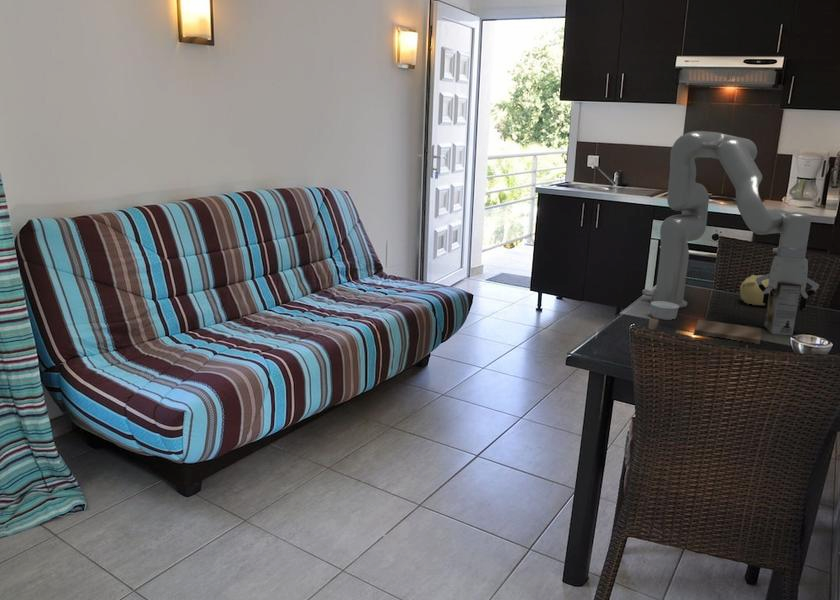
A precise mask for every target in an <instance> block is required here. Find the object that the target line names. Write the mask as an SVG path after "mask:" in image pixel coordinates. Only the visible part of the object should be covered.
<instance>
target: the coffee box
mask: <svg viewBox="0 0 840 600" xmlns="http://www.w3.org/2000/svg"><path fill="white" fill-rule="evenodd" d="M800 291H801V285H799V284H792V283H784V282H778V283H777V288H776V289H772V290H771V291H770V294H769V300H768V305H767V307H766V312H765V313H766V314H765V319H764V327H765V328H766V330H767V331H768V332H770V334H772V335H781V336H782V335H784V336H793V335H794V333H793V332H794V328H795V322H796V317H797V312H798V306H799V303H800V302H799V300H800V297H801V293H800Z"/></svg>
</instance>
